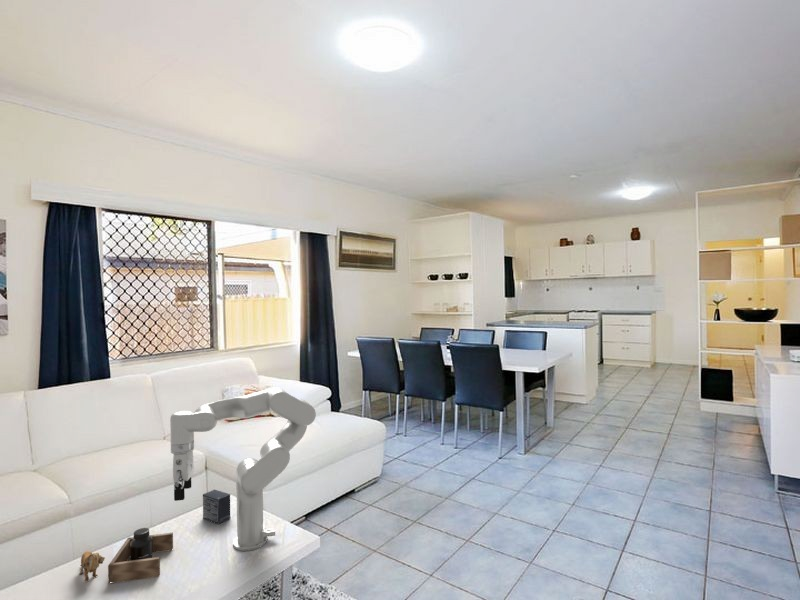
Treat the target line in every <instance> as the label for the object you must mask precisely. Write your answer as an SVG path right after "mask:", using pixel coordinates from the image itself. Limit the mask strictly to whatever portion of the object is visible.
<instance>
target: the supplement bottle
mask: <svg viewBox="0 0 800 600" xmlns="http://www.w3.org/2000/svg"><path fill="white" fill-rule="evenodd" d="M149 535H150V529H149V528H148V527H142V528H138V529H136V530H134V532H133V536H132V537H133V540H132V541H131V544H130V557H129V561H132V560H140V559H147V558H153V553H152V545H153V540H152V537H151V536H149Z"/></svg>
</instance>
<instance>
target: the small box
mask: <svg viewBox="0 0 800 600" xmlns="http://www.w3.org/2000/svg"><path fill="white" fill-rule="evenodd" d="M229 518H230V519H231V493H227V492H224V491H221V490H217V489H212V490H210V491H208V492H205V493H203V494H202V519H203V520H206V521H208V522H211V521H212V522H211V523H214V522H215V523H214V524H216V523H217V525H220V524H221V523H224V522H226V521H227V519H228V520H230V519H229ZM225 520H226V521H225ZM223 521H224V522H223Z"/></svg>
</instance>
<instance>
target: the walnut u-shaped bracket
mask: <svg viewBox="0 0 800 600" xmlns="http://www.w3.org/2000/svg"><path fill="white" fill-rule="evenodd" d="M149 536H151V537H152V540H153V545H152V554H153V553H159V552H161V553H162V552H168V550H169V551H173V550H172V549H174V532H166V533H158V534H149ZM132 540H133V536H131V537H127V539H126V540H125V541H124V543H123V544H122V545H121V546H120V549H119V550H118V551H117V553H116V554H115V555H114V557H113V558H112V560H111V561H110V562H109V564H108V565H107V566H108V567H107V569H108V571H107V575H108V583H110V582H117V583H122V582H123V581H124V582H130V581H137V580H145V579H152V578H159V577H160V575H161V564H160V563H161V558H160V556H156V557H152V558H147V559H140V560H132V561H130V544H131V541H132ZM110 584H111V583H110Z"/></svg>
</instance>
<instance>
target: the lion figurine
mask: <svg viewBox="0 0 800 600" xmlns="http://www.w3.org/2000/svg"><path fill="white" fill-rule="evenodd" d="M105 559H106V557H104V556H102V555H100V553H99V552H92V551H91V550H86V551H85V552H83V554H81V558H80V567H81V568H80V572H79V575H80V574H81V575H83V574H84V581H88V580H89V581H90V578H89V573H90V574H91V573H92V574H91V577H92V578H94V577H95V578H97V577H98V574H97V570H98V568H99V567H100V565H102V564H103V563H104V561H105ZM82 573H83V574H82ZM96 576H97V577H96ZM89 581H88V582H89Z"/></svg>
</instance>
